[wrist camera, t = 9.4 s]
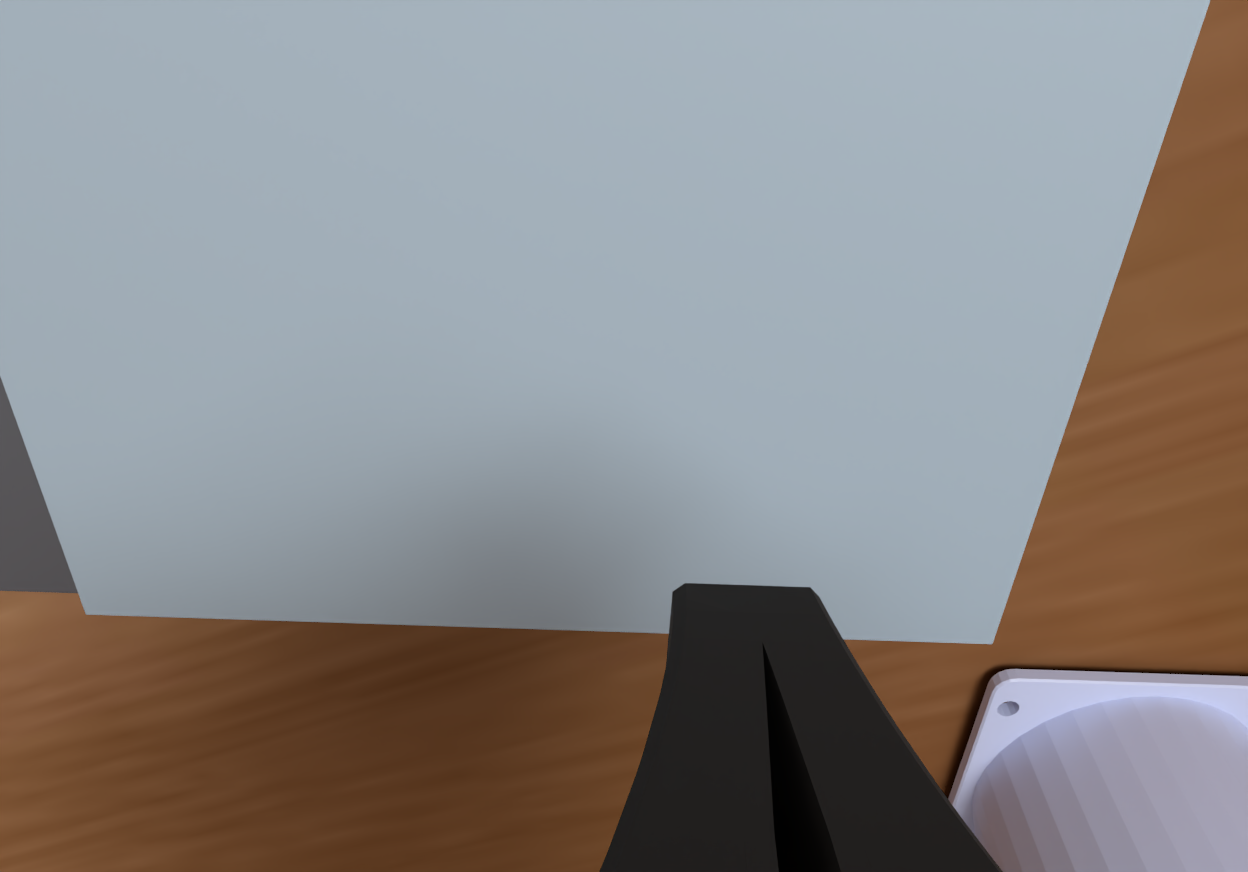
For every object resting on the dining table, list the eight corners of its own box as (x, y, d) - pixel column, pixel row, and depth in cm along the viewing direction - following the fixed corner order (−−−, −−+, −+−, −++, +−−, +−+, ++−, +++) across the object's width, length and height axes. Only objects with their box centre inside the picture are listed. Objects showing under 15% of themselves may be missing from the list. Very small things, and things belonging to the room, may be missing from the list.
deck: (943, 527, 21) (992, 644, 19) (161, 500, 21) (85, 614, 18) (1114, -93, 15) (1232, -64, 12) (-18, -142, 15) (-180, -125, 12)
